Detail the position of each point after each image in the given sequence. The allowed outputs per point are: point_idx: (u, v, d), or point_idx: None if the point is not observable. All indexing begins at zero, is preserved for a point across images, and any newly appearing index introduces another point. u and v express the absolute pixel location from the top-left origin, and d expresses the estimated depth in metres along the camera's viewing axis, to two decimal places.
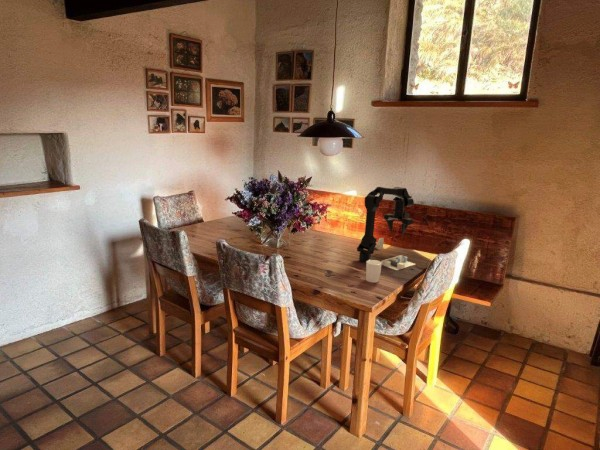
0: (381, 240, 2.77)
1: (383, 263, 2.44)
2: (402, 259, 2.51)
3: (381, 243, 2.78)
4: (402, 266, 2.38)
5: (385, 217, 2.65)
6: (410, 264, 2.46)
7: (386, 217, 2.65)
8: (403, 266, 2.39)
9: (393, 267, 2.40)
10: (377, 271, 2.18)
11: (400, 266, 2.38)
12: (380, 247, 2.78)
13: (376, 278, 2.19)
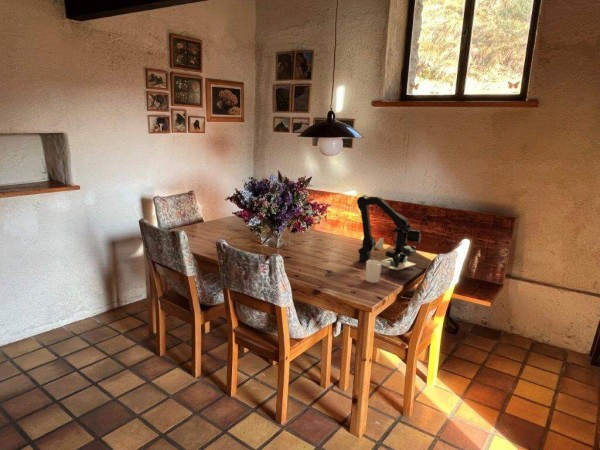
0: (381, 240, 2.77)
1: (383, 263, 2.44)
2: None
3: (381, 243, 2.78)
4: (402, 266, 2.38)
5: None
6: (410, 264, 2.46)
7: None
8: (403, 266, 2.39)
9: (393, 267, 2.40)
10: (377, 271, 2.18)
11: (400, 266, 2.38)
12: (380, 247, 2.78)
13: (376, 278, 2.19)
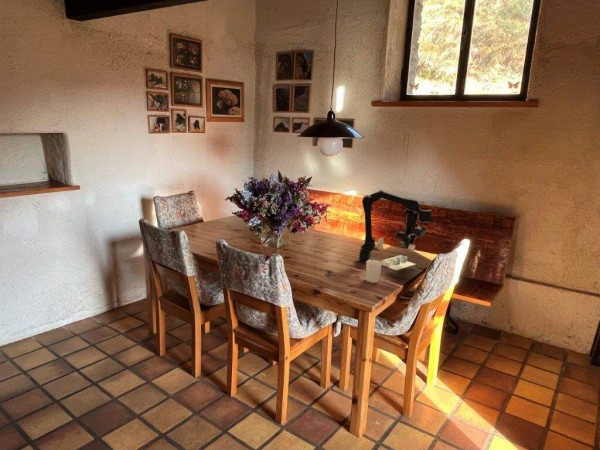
0: (381, 240, 2.78)
1: (383, 263, 2.44)
2: (402, 259, 2.51)
3: (381, 243, 2.78)
4: (413, 247, 2.41)
5: None
6: (410, 264, 2.46)
7: None
8: (413, 247, 2.41)
9: (393, 267, 2.40)
10: (377, 271, 2.18)
11: (410, 247, 2.41)
12: (380, 247, 2.78)
13: (376, 278, 2.19)
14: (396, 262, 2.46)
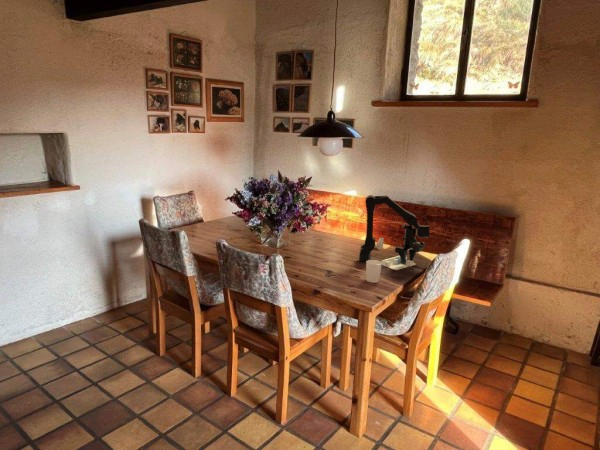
0: (381, 240, 2.78)
1: (383, 263, 2.44)
2: None
3: (381, 243, 2.78)
4: (411, 264, 2.43)
5: None
6: None
7: None
8: (412, 263, 2.44)
9: (393, 267, 2.40)
10: (377, 271, 2.18)
11: (409, 263, 2.43)
12: (380, 247, 2.78)
13: (376, 278, 2.19)
14: (396, 262, 2.46)
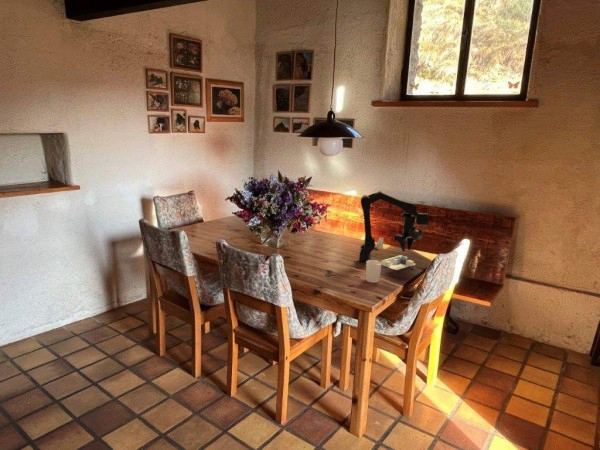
0: (381, 240, 2.78)
1: (383, 263, 2.44)
2: None
3: (381, 243, 2.78)
4: (411, 264, 2.43)
5: None
6: None
7: None
8: (412, 263, 2.44)
9: (393, 267, 2.40)
10: (377, 271, 2.18)
11: (409, 263, 2.43)
12: (380, 247, 2.78)
13: (376, 278, 2.19)
14: (396, 262, 2.46)
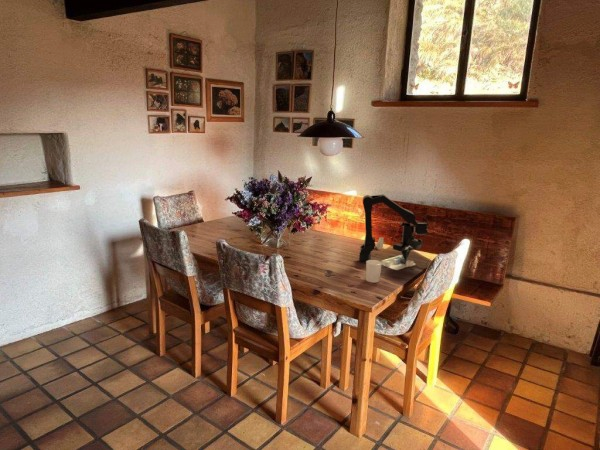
0: (381, 240, 2.78)
1: (383, 263, 2.44)
2: None
3: (381, 243, 2.79)
4: (411, 264, 2.43)
5: None
6: None
7: None
8: (412, 263, 2.44)
9: (393, 267, 2.40)
10: (377, 271, 2.18)
11: (409, 263, 2.43)
12: (380, 247, 2.78)
13: (376, 278, 2.19)
14: (396, 262, 2.46)
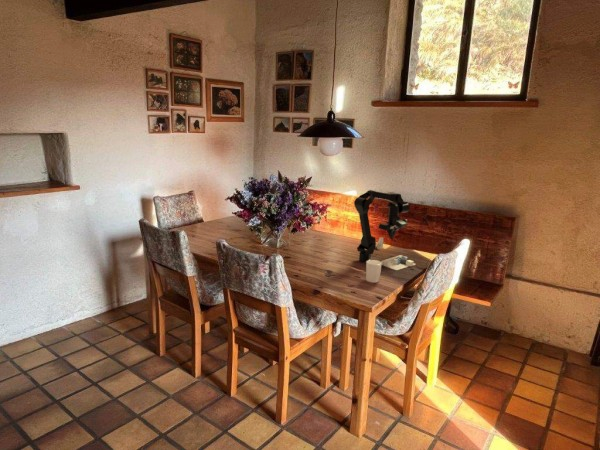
0: (381, 240, 2.78)
1: (383, 263, 2.44)
2: None
3: (381, 243, 2.79)
4: (411, 264, 2.43)
5: None
6: None
7: None
8: (412, 263, 2.44)
9: (393, 267, 2.40)
10: (377, 271, 2.18)
11: (409, 263, 2.43)
12: (380, 247, 2.78)
13: (376, 278, 2.19)
14: (396, 262, 2.46)
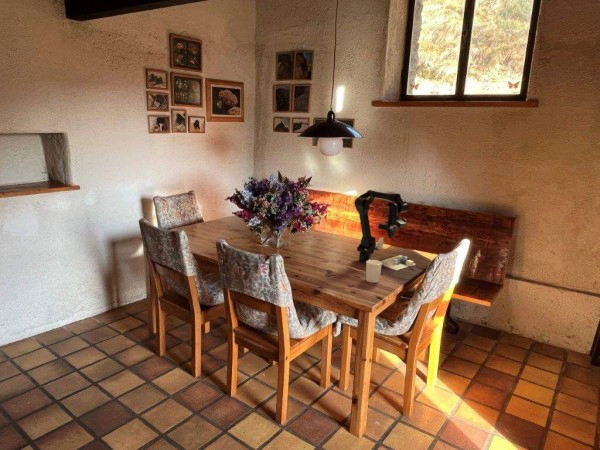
0: (381, 240, 2.78)
1: (383, 263, 2.44)
2: None
3: (381, 243, 2.79)
4: (411, 264, 2.43)
5: None
6: None
7: None
8: (412, 263, 2.44)
9: (393, 267, 2.40)
10: (377, 271, 2.18)
11: (409, 263, 2.43)
12: (380, 247, 2.79)
13: (376, 278, 2.19)
14: (396, 262, 2.46)
